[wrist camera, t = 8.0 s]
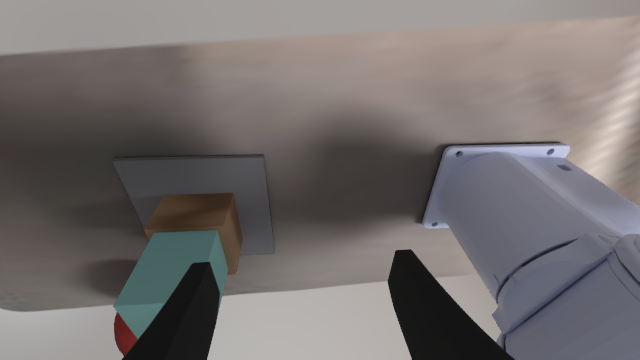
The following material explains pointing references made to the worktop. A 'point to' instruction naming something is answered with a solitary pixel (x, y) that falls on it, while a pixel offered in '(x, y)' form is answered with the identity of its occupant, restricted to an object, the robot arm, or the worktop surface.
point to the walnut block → (201, 220)
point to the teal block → (167, 273)
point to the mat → (204, 189)
